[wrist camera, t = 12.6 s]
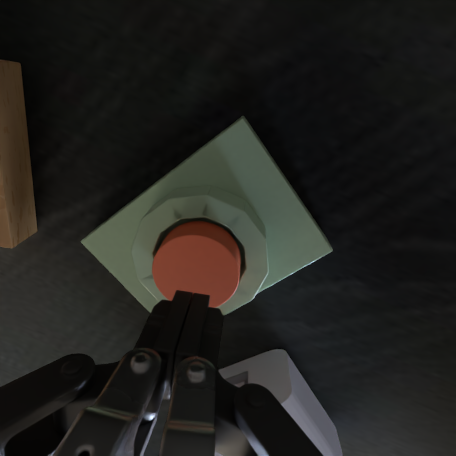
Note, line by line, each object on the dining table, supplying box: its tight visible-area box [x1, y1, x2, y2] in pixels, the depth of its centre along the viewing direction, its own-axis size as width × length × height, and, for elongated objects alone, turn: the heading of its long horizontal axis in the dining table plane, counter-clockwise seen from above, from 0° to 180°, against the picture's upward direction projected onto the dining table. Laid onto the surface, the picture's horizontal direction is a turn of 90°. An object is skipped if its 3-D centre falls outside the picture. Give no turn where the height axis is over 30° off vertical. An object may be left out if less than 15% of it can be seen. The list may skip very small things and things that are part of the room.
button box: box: [81, 116, 333, 315], centre depth 19 cm, size 12×9×4 cm
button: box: [152, 221, 241, 308], centre depth 17 cm, size 4×4×2 cm
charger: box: [215, 349, 343, 456], centre depth 25 cm, size 5×9×15 cm
